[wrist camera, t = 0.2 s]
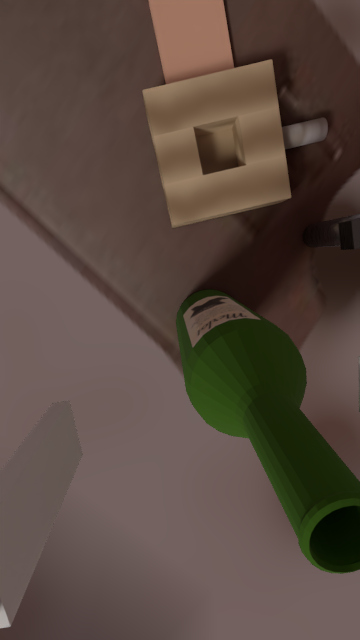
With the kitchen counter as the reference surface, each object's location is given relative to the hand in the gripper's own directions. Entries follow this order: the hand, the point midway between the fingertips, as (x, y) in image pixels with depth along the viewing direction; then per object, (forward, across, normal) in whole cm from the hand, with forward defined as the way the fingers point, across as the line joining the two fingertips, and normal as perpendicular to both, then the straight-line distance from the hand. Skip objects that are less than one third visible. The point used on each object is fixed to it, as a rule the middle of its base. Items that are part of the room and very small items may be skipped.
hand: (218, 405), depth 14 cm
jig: (+28, +9, +18) cm, 34 cm away
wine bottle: (+28, +3, -3) cm, 28 cm away
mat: (+28, +5, +31) cm, 42 cm away
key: (+28, +18, +7) cm, 34 cm away
